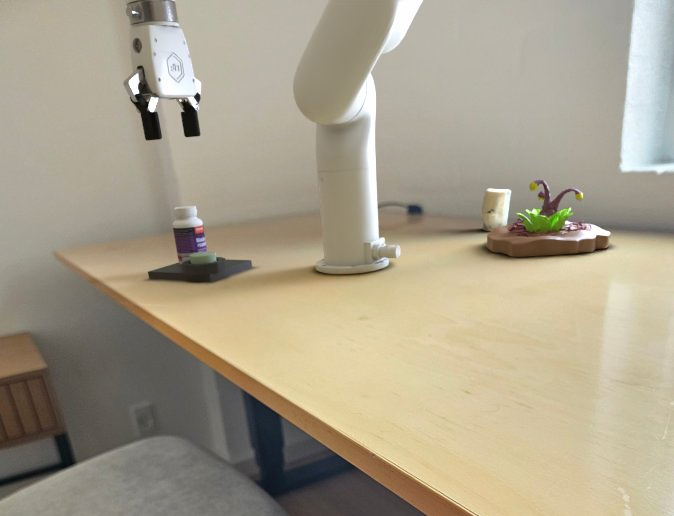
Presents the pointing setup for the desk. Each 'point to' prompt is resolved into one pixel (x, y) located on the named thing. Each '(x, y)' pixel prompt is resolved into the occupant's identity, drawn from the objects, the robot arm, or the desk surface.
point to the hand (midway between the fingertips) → (173, 138)
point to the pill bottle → (188, 233)
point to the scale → (200, 270)
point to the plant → (547, 231)
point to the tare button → (203, 257)
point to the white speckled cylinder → (495, 208)
